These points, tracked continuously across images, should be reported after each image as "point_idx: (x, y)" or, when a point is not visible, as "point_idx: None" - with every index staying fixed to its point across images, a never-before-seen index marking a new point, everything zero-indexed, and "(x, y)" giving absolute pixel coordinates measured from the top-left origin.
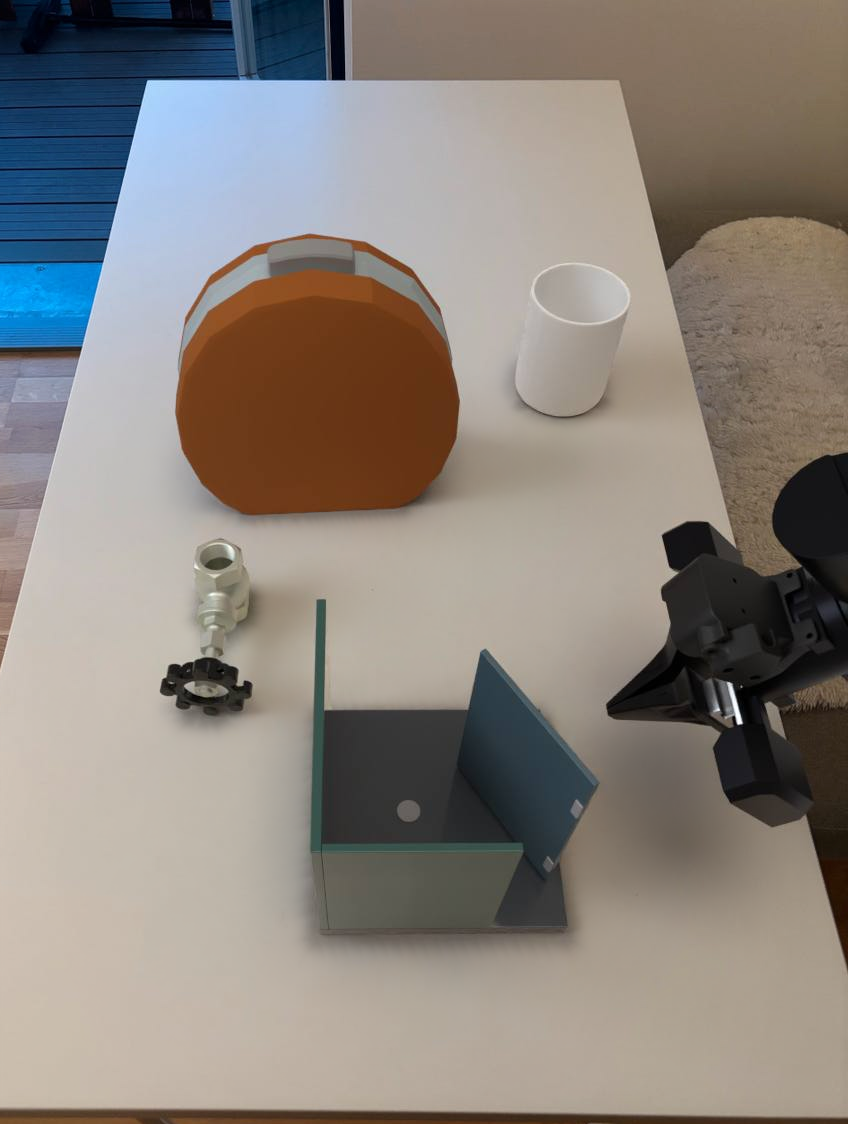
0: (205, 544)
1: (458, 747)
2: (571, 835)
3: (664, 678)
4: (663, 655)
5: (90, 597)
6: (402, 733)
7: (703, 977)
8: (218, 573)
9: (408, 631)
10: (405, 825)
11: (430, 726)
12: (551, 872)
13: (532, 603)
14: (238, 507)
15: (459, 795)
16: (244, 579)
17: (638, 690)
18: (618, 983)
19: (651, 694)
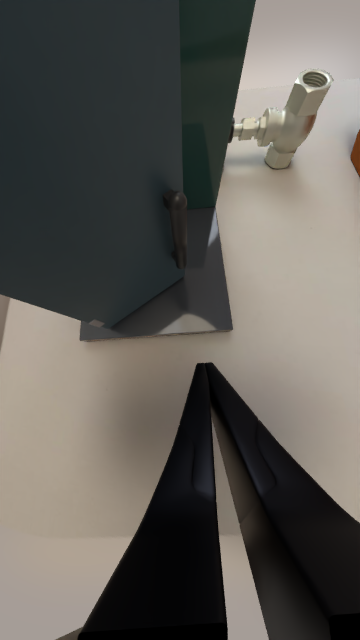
0: (324, 71)
1: (196, 276)
2: (39, 306)
3: (241, 474)
4: (305, 496)
5: (269, 107)
6: (203, 244)
7: (52, 429)
8: (300, 81)
9: (282, 250)
10: None
11: (210, 259)
12: (102, 327)
13: (328, 331)
14: (356, 145)
15: None
16: (299, 124)
17: (219, 408)
18: (55, 371)
19: (201, 434)
